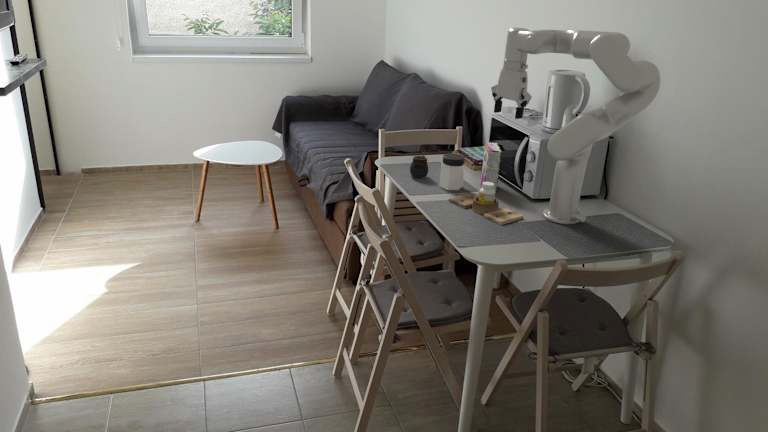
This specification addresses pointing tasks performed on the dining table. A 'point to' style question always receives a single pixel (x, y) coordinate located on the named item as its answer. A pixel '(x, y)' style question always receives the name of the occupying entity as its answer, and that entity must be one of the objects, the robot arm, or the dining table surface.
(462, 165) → the jar
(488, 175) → the candy bar box
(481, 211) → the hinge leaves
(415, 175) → the mate gourd
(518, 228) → the dining table surface
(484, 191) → the supplement bottle
